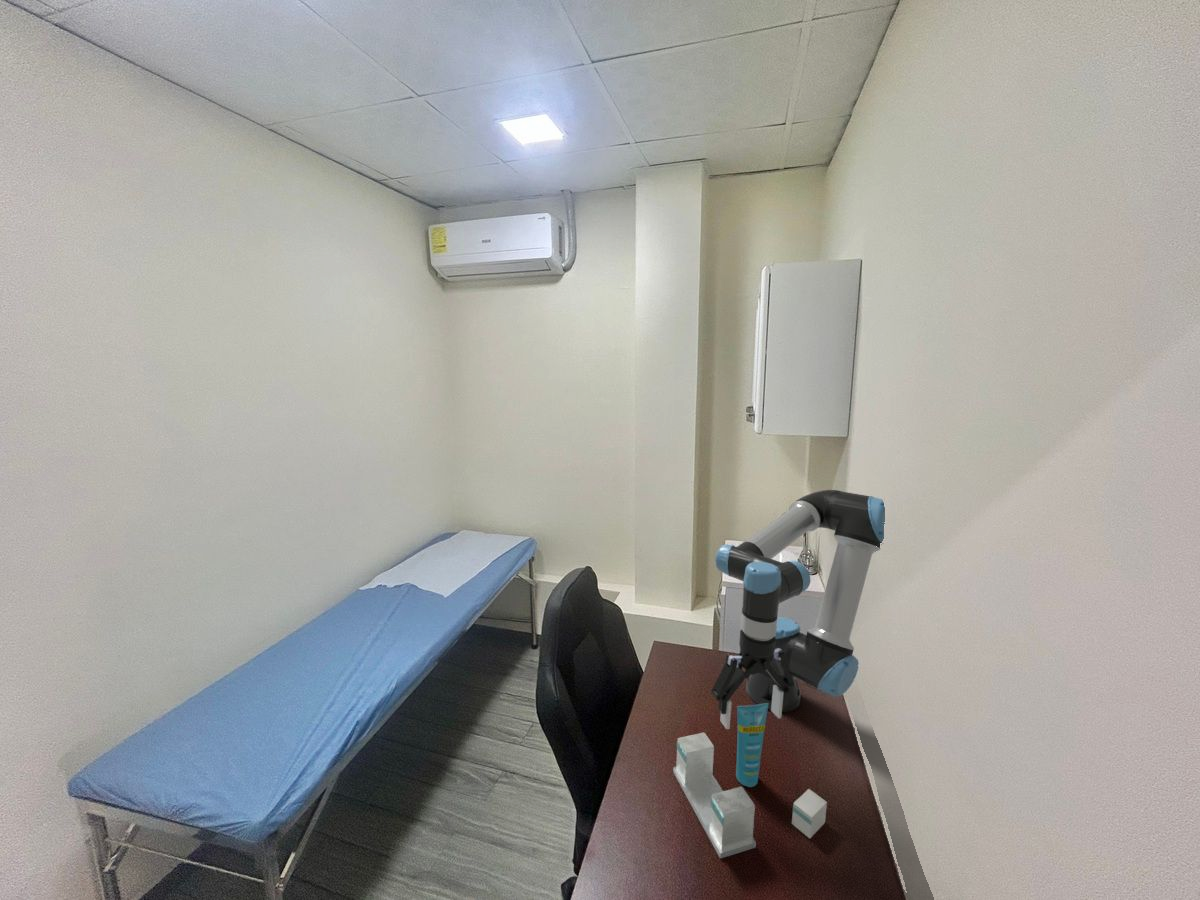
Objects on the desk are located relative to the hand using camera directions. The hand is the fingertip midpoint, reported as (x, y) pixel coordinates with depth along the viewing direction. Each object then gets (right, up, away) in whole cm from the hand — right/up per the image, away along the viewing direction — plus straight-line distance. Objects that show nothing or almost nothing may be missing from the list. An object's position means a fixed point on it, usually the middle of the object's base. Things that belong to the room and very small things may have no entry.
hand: (750, 719), depth 105 cm
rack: (-10, -16, -5) cm, 20 cm away
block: (+9, -17, -8) cm, 21 cm away
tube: (0, -16, +2) cm, 16 cm away
